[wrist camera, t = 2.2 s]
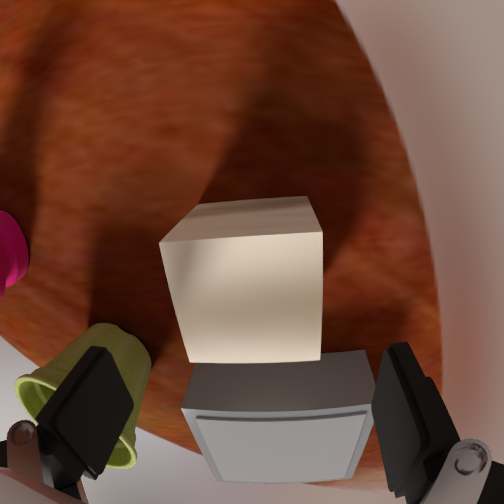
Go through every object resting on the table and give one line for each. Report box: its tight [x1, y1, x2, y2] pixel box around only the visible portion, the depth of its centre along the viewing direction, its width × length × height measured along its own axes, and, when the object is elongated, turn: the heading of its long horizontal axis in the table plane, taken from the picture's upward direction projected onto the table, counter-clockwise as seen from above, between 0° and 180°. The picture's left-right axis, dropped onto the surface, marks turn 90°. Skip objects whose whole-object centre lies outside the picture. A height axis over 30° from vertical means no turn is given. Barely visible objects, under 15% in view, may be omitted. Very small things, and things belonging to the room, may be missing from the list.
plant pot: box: [15, 323, 151, 469], centre depth 18 cm, size 9×9×9 cm
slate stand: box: [181, 350, 376, 484], centre depth 20 cm, size 12×12×5 cm
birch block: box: [159, 196, 323, 363], centre depth 14 cm, size 6×6×6 cm
